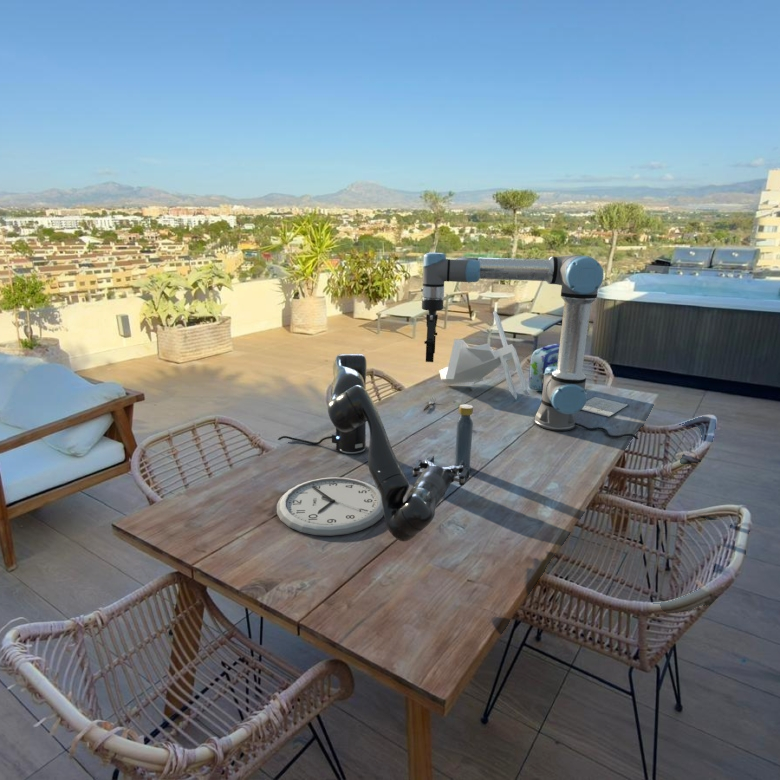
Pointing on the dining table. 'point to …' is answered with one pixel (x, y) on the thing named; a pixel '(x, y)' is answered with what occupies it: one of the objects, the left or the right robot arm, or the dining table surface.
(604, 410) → the invitation card
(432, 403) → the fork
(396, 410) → the dining table surface
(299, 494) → the wall clock
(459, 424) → the bottle
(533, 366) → the lunch box
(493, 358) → the white plastic object
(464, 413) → the cap
